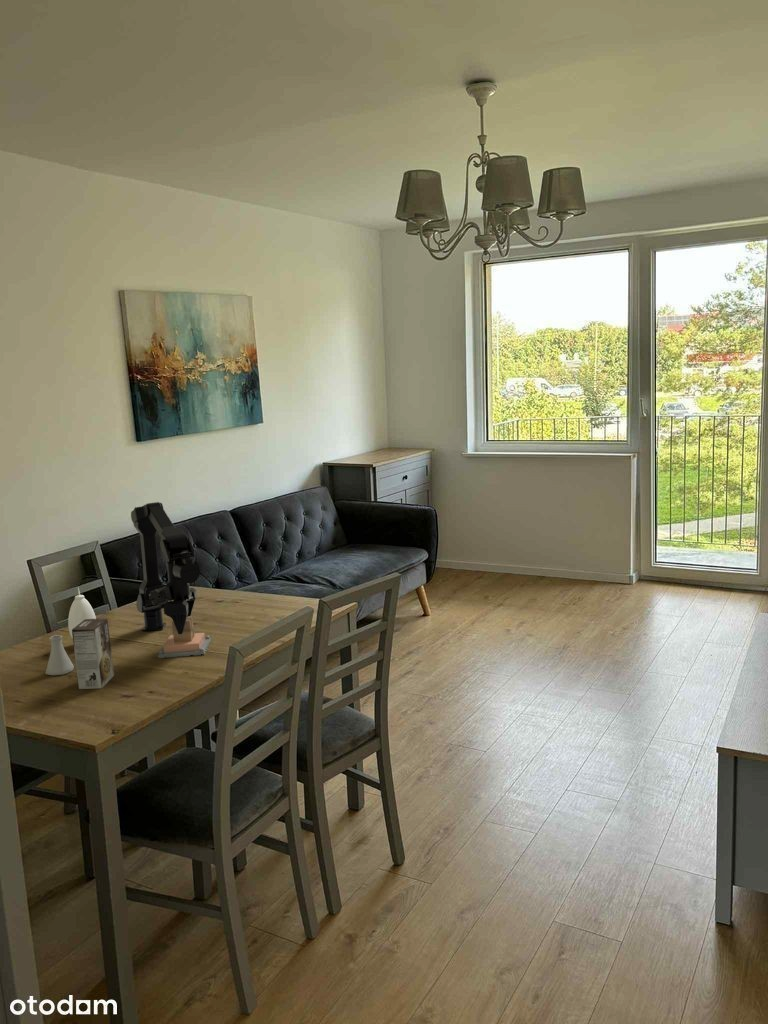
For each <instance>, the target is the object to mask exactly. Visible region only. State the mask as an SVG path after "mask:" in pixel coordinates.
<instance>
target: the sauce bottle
mask: <svg viewBox="0 0 768 1024" xmlns="http://www.w3.org/2000/svg"><path fill="white" fill-rule="evenodd" d="M85 619H97V617H96V614H95V611H94V609H93V607H92V605H91V604H90V602H89V601H88V600H87V599H86V598H85V595H83V594H81V593H80V588H79V587H77V595H75V596H74V600H73V602H72V603H71V606H70V608H69V613H68V620H67V622H68V623H67V624H68V625H67V627H68V632H69V635H70V637H71V639H72V640H73V635H72V629H73V628H75V627H76V626H77V625H78V624H80V623H81V622H82V621H83V620H85Z"/></svg>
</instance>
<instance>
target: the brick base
mask: <svg viewBox="0 0 768 1024" xmlns="http://www.w3.org/2000/svg"><path fill="white" fill-rule="evenodd" d="M210 641H211V642H212V638H211V637H210V635H205V632H198V633H197V632H196V633H195V632H194V638H193V639H192V641H187V642H174V637H173V634H170V635H169V637H168V638H166V641H165V642H164V644H163V645H162V648H161V649H160V651H158V653H157V658H158V659H163V658H164V659H165V657H166V658H177V657H178V656H179V658H180V657H191V656H190V655H194V656H202V655H201V654H205V655H206V652H207V650H208V648H209V646H210V644H209V643H211V642H210ZM208 645H209V646H208ZM207 647H208V648H207ZM206 649H207V650H206ZM205 651H206V652H205Z"/></svg>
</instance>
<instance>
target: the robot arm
mask: <svg viewBox="0 0 768 1024" xmlns="http://www.w3.org/2000/svg"><path fill="white" fill-rule="evenodd" d="M130 518H131V522H132V523H133V526H134V527H133V528H135V530H137V532H138V533H139V538H140V549H141V560H142V562H141V563H142V571H143V573H142V574H143V579H142V582H141V583H140V585H139V593H138V596H137V599H136V604H135V605H136V610H137V611H138V612H140V613H141V614H143V619H144V620H143V621H144V626H143V627H142V629H141V631H142V632H147V631H161V630H164V629H165V626H167V622H164V617H163V614H164V615H165V616H167V617H169V618H171V619H172V622H174V624H175V627H176V629H177V632H178V634H182V633H183V630H184V626H185V622H186V619H187V617H188V616H192V612H193V610H194V606H195V603H196V600H197V597H198V595H197V590H196V589H195V588H194V587H191V586H190V584H193V583H196V581H197V580H198V579H199V577H200V575H201V570H200V567H199V566H198V565H197V564H196V563H194V562H193V559H192V558H195V557H196V556H195V552H196V551H195V548H194V546H193V543H192V541H191V539H190V537H189V536H188V535H187V533H186V532H184V531H183V529H181V528H178V527H175V525H174V523H173V522H172V520H171V519H170V517H169V516H168V514H167V512H166V510H165V509H164V506H163V503H162V502H159V501H155V502H149V503H146V504H143V505H142V506H137V507H136V506H135V507H134V509H133V510H132V511H131V512H130ZM157 533H158V535H159V537H160V542H159V543H160V544H159V545H160V550H161V552H162V554H163V556H164V559H165V561H166V569H167V579H168V580H167V582H166V584H164V582H163V581H162V580H161V579H160V571H159V561H158V558H159V557H158V550H157V549H158V548H157V537H156V534H157Z"/></svg>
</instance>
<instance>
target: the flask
mask: <svg viewBox="0 0 768 1024" xmlns="http://www.w3.org/2000/svg"><path fill="white" fill-rule="evenodd" d="M62 638H63V635H61V634H55V635H51V636H50V637H49V640H50V646H51V647H50V653H49V658H48V662H47V666H46V670H45V675H47V676H48V675H49V676H60V675H65V674H68V673H71V672H72V671H73V670H74V669H75V665H74V664H73V662H72V661H71V659H70V657H69V655H68V653H67V651H66V650H65V648H64V645H63V639H62Z"/></svg>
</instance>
